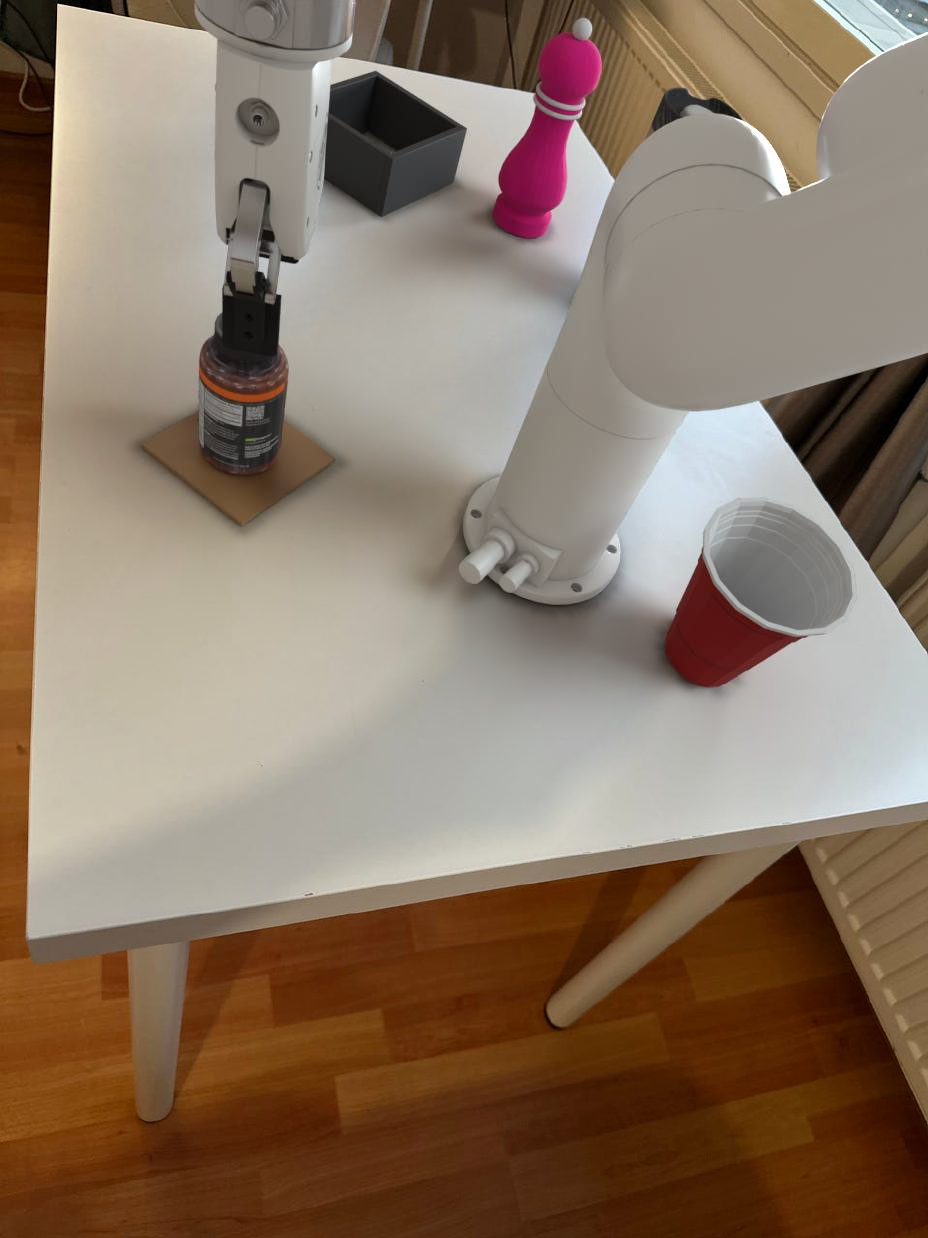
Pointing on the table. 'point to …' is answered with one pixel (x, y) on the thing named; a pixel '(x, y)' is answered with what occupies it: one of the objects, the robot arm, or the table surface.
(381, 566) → the table surface
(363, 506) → the table surface
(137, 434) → the table surface
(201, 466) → the coaster
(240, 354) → the supplement bottle
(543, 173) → the pepper mill
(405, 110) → the bin
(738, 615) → the plastic cup
